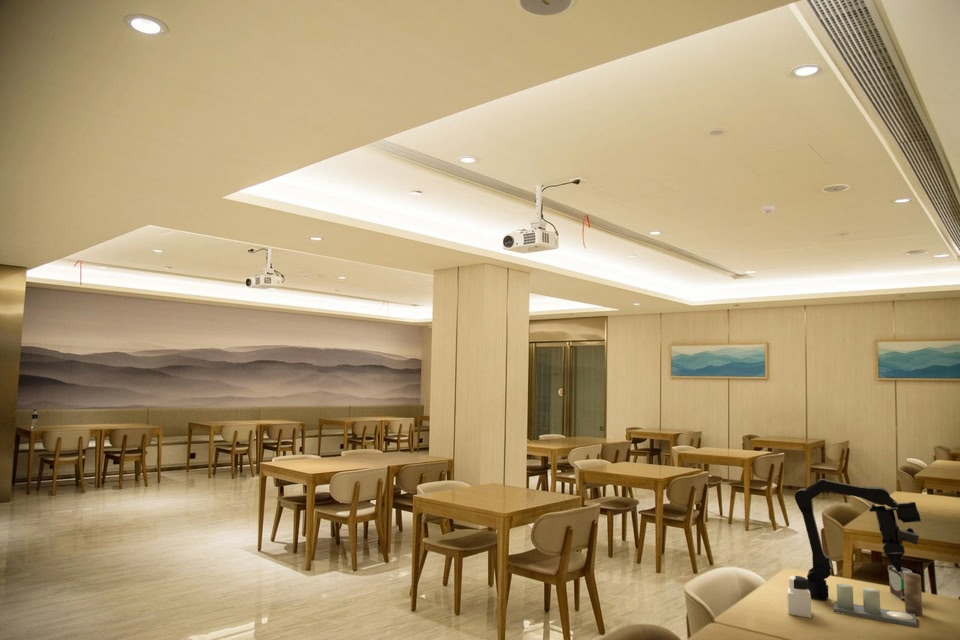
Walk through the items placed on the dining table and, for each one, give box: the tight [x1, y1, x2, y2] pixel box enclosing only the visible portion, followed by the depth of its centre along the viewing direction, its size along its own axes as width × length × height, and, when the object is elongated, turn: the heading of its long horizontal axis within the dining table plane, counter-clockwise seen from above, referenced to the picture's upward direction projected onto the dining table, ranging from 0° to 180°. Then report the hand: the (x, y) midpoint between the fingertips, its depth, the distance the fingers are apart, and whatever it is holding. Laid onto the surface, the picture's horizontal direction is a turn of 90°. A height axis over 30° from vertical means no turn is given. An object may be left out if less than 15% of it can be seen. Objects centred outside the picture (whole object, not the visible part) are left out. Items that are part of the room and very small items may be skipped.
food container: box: [887, 564, 913, 601], centre depth 240 cm, size 12×6×10 cm, turn 168°
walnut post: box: [904, 572, 924, 616], centre depth 223 cm, size 5×5×13 cm
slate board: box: [832, 600, 918, 628], centre depth 219 cm, size 24×10×1 cm, turn 58°
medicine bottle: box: [786, 575, 813, 618], centre depth 220 cm, size 7×7×12 cm
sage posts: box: [836, 583, 881, 614], centre depth 222 cm, size 13×5×7 cm, turn 58°
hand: (898, 568), depth 225 cm, fingers open, 9 cm apart
